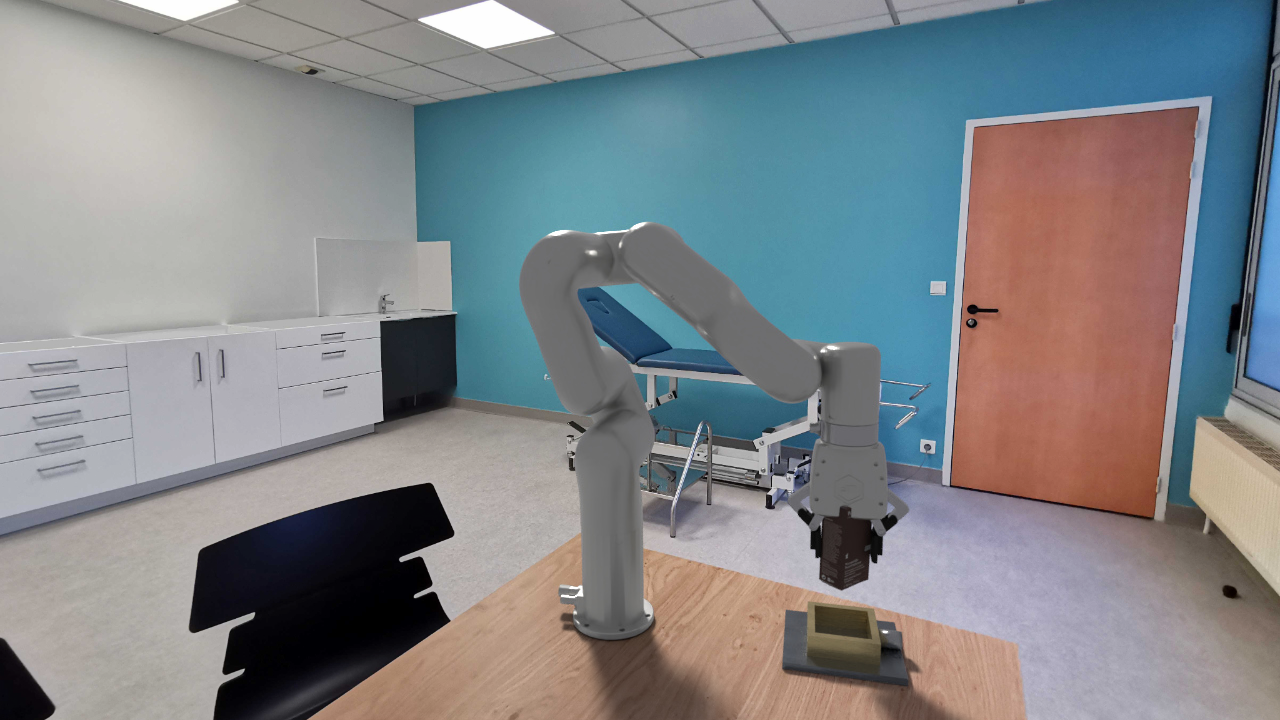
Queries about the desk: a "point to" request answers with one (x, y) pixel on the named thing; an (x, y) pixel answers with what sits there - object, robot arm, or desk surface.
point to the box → (845, 550)
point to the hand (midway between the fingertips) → (845, 555)
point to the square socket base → (843, 644)
